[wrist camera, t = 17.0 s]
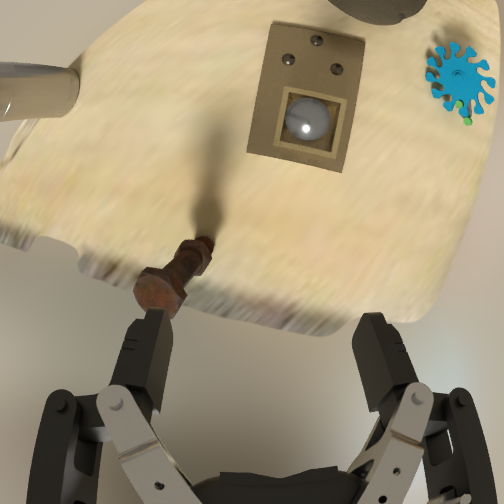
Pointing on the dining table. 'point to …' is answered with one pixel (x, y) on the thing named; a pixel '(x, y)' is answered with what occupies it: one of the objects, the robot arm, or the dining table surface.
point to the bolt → (173, 276)
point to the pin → (307, 118)
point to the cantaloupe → (380, 10)
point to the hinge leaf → (306, 94)
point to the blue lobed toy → (460, 81)
